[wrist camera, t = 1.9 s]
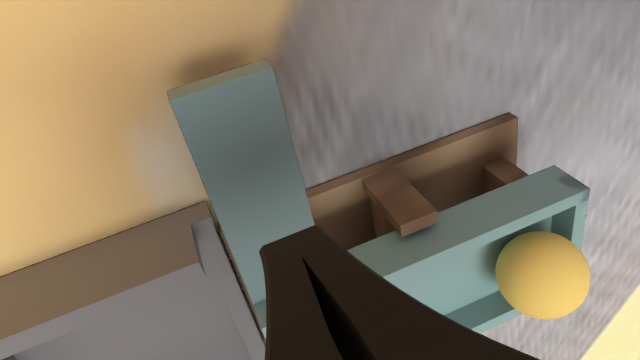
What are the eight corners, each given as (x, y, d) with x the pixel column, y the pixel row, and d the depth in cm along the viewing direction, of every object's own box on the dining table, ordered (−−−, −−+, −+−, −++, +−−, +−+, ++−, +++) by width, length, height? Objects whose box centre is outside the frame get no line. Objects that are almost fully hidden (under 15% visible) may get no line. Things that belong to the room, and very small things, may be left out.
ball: (549, 202, 21) (618, 253, 18) (544, 261, 23) (605, 315, 20) (477, 233, 21) (537, 291, 18) (478, 291, 23) (532, 351, 20)
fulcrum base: (509, 112, 24) (576, 151, 20) (505, 235, 28) (559, 284, 25) (217, 224, 21) (238, 290, 18) (265, 339, 26) (289, 409, 22)
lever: (574, -42, 17) (623, -33, 15) (544, 262, 25) (574, 288, 23) (166, 90, 14) (173, 118, 12) (285, 379, 22) (298, 418, 21)
